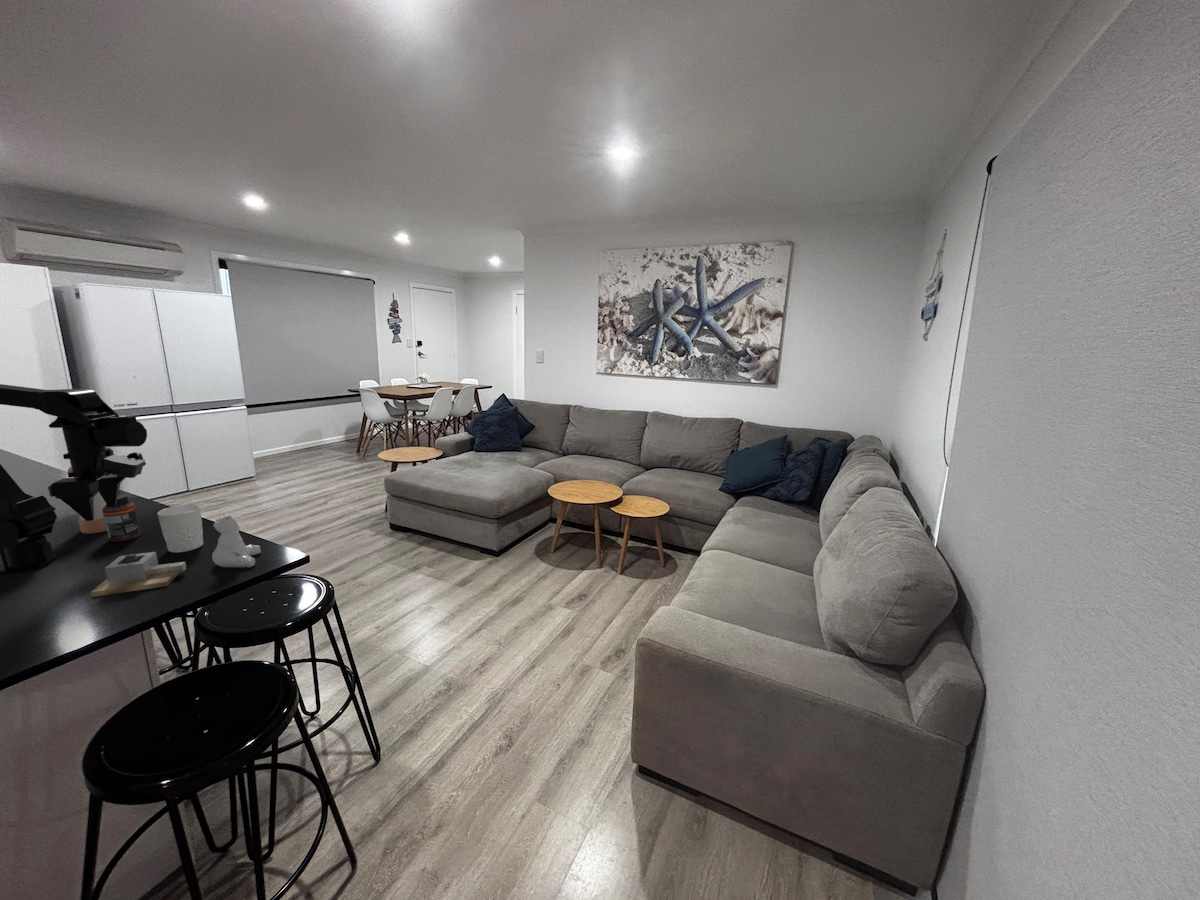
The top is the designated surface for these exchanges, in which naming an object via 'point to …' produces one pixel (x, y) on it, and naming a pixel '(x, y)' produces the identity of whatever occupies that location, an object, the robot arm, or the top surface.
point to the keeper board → (150, 583)
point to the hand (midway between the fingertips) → (101, 513)
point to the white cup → (182, 527)
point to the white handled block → (139, 569)
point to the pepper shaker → (98, 521)
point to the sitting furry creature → (232, 545)
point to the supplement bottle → (121, 520)
